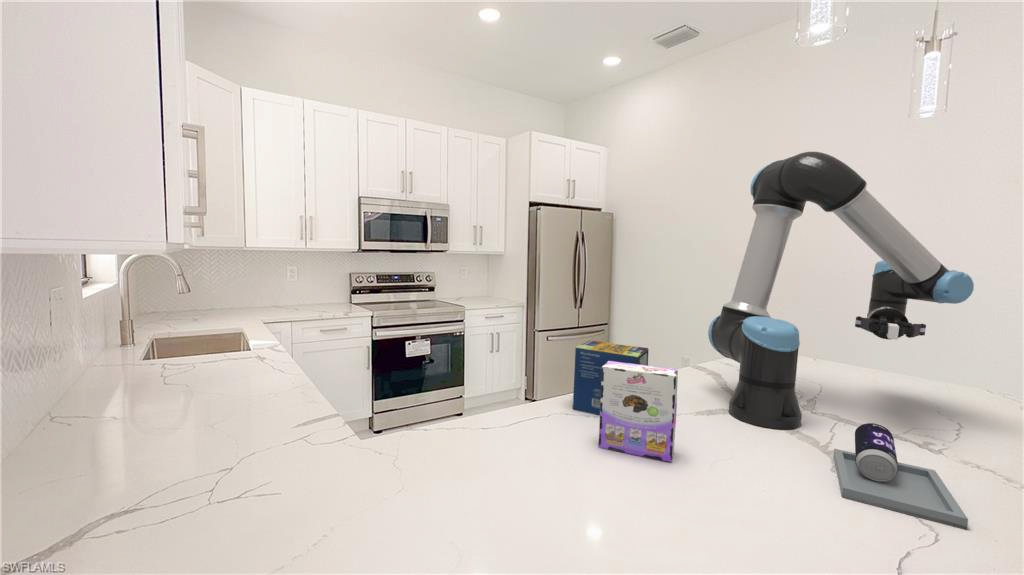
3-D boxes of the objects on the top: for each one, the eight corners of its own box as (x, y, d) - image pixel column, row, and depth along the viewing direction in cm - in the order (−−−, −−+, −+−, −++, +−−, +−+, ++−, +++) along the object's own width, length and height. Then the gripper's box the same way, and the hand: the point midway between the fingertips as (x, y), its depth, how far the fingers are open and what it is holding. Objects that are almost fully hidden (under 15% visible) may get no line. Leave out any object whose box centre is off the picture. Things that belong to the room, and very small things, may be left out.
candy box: (674, 451, 86) (679, 368, 84) (671, 464, 80) (677, 375, 79) (604, 436, 91) (607, 358, 90) (597, 447, 86) (601, 365, 85)
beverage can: (892, 452, 82) (898, 488, 73) (854, 445, 86) (854, 478, 77) (893, 424, 81) (899, 456, 72) (855, 418, 85) (855, 448, 76)
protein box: (586, 398, 116) (589, 339, 115) (646, 410, 108) (649, 347, 107) (571, 409, 107) (574, 346, 106) (634, 423, 99) (638, 356, 98)
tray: (842, 497, 71) (842, 487, 71) (833, 456, 85) (834, 448, 85) (966, 529, 63) (968, 519, 63) (933, 478, 78) (934, 470, 78)
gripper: (920, 342, 106) (934, 356, 88) (852, 333, 114) (851, 344, 96) (925, 311, 106) (939, 319, 87) (856, 304, 114) (856, 310, 95)
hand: (893, 332), depth 91 cm, fingers closed
